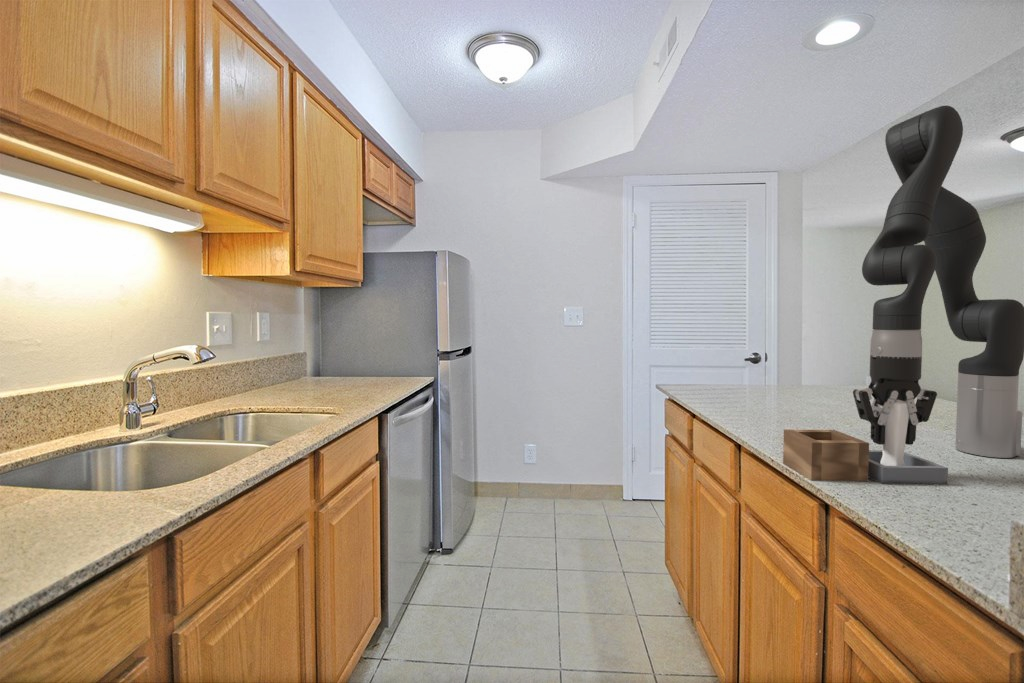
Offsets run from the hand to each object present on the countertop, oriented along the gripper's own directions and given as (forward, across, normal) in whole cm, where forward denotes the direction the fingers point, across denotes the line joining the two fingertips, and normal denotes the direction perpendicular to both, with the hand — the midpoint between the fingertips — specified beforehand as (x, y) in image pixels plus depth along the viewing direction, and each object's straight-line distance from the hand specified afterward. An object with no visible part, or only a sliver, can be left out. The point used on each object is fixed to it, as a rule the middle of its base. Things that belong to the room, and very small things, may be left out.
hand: (892, 443), depth 89 cm
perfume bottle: (+5, 0, 0) cm, 5 cm away
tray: (+6, 0, 0) cm, 6 cm away
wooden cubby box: (+6, +12, -1) cm, 13 cm away
